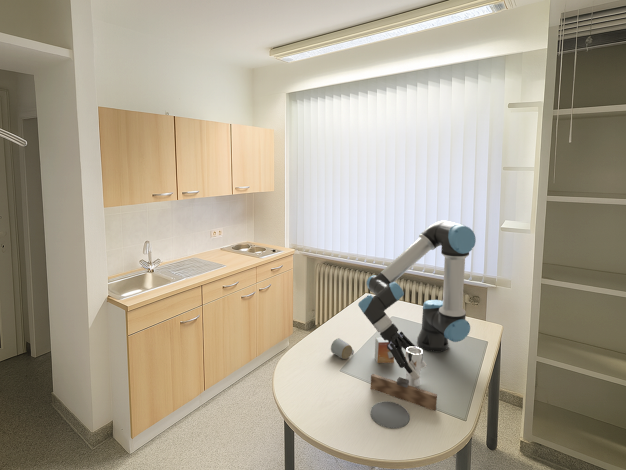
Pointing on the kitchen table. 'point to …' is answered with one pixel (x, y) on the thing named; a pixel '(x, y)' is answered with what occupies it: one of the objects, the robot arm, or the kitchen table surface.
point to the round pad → (389, 414)
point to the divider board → (404, 391)
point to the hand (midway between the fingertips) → (420, 372)
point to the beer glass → (414, 364)
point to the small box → (383, 351)
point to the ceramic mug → (341, 348)
